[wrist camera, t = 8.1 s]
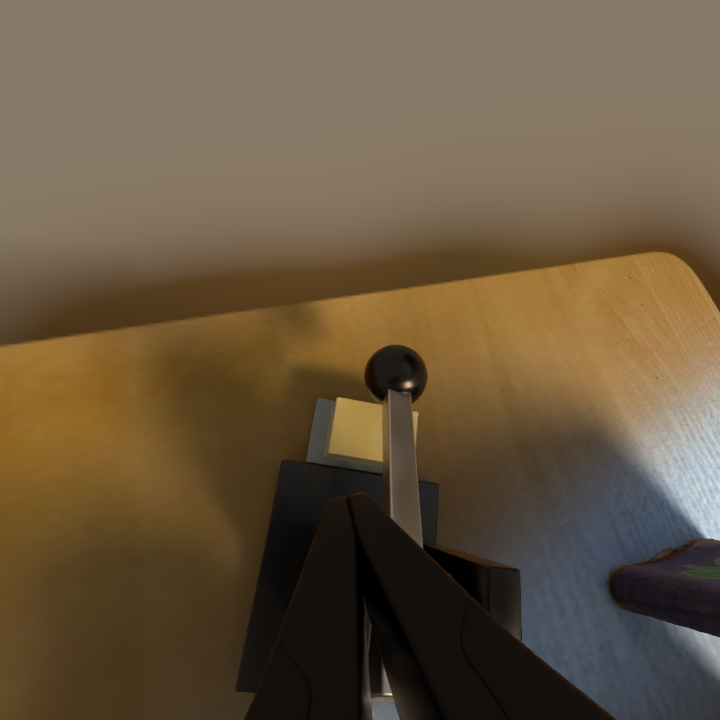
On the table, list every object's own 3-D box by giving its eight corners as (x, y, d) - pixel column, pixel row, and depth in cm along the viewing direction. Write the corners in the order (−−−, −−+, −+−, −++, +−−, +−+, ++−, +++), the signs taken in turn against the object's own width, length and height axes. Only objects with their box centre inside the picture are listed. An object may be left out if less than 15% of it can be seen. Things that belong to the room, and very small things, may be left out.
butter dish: (316, 399, 23) (321, 386, 20) (415, 417, 23) (434, 407, 21) (304, 463, 21) (308, 458, 18) (411, 479, 22) (430, 477, 19)
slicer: (282, 461, 21) (286, 425, 10) (431, 484, 22) (577, 474, 11) (237, 679, 17) (168, 991, 6) (419, 692, 19) (618, 969, 8)
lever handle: (359, 368, 19) (374, 326, 17) (412, 378, 20) (434, 339, 18) (340, 700, 10) (367, 694, 8) (440, 705, 11) (489, 703, 9)
